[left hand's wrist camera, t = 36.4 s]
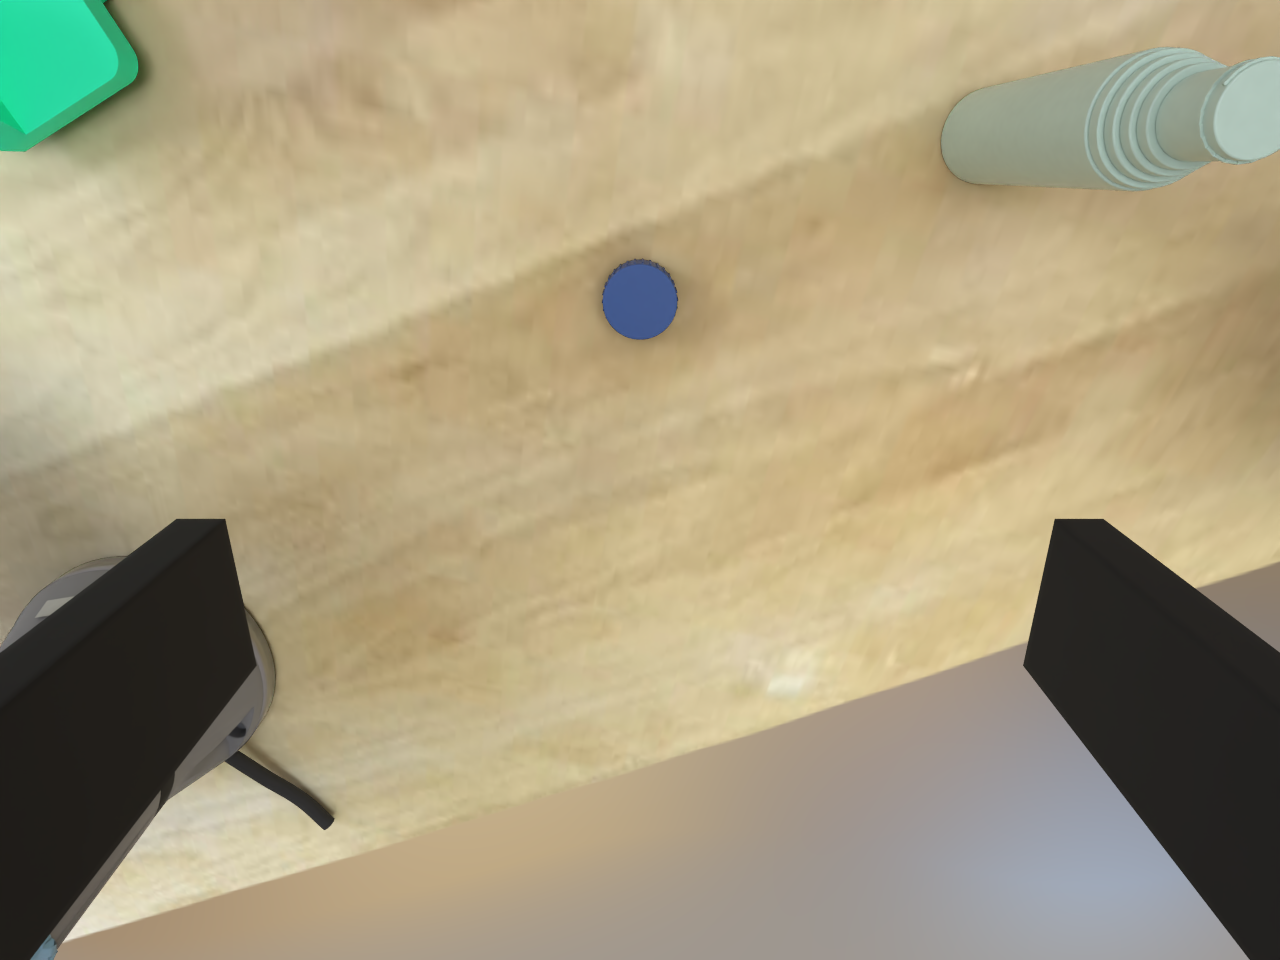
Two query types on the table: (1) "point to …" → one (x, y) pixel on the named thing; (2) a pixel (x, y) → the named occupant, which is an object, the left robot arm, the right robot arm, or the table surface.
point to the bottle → (1117, 122)
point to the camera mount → (56, 66)
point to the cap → (639, 299)
